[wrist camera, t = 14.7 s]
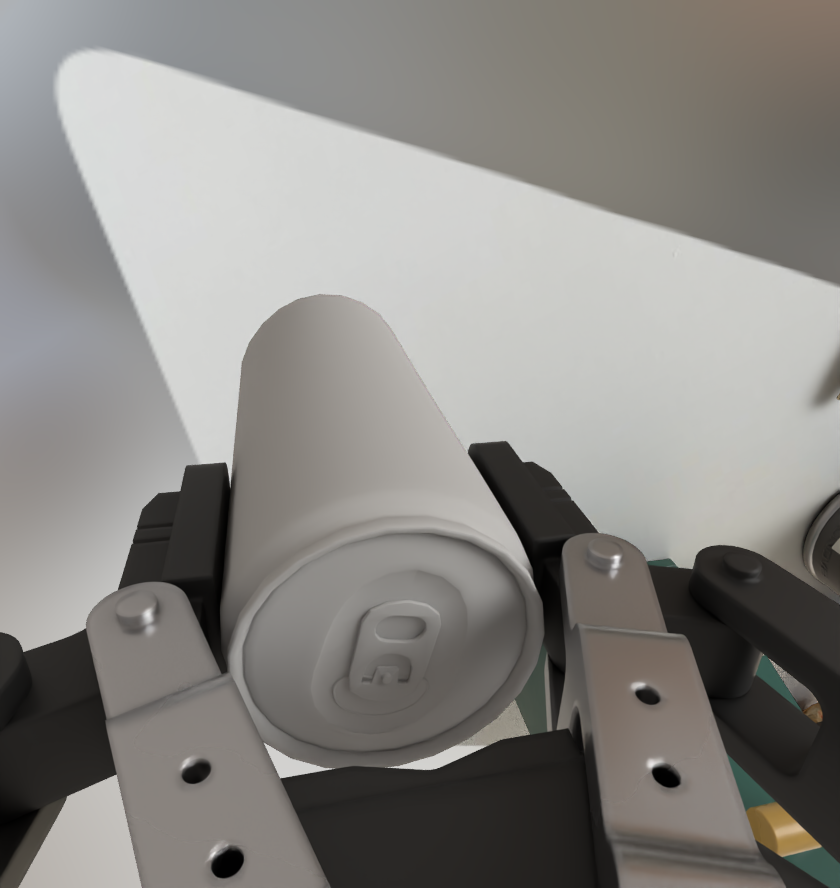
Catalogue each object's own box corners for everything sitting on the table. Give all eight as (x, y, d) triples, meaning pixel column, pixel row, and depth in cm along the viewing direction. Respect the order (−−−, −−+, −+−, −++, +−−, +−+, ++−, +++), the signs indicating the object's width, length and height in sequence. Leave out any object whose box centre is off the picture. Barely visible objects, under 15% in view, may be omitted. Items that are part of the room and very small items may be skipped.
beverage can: (231, 429, 20) (197, 782, 9) (253, 273, 18) (240, 498, 7) (383, 448, 21) (500, 772, 11) (418, 306, 19) (601, 533, 9)
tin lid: (897, 881, 29) (976, 847, 25) (684, 939, 26) (738, 910, 23) (760, 661, 36) (805, 610, 32) (585, 692, 34) (613, 641, 30)
